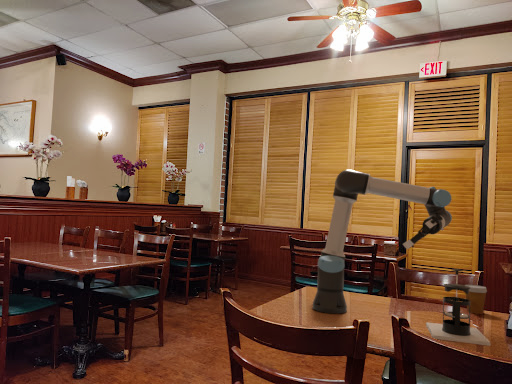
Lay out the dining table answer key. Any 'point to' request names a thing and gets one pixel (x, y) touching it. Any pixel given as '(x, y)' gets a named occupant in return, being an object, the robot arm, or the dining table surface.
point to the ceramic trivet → (473, 338)
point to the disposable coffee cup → (476, 298)
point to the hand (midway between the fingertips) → (416, 236)
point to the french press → (456, 310)
